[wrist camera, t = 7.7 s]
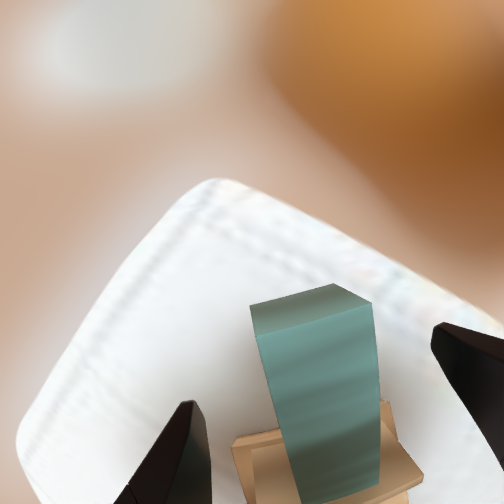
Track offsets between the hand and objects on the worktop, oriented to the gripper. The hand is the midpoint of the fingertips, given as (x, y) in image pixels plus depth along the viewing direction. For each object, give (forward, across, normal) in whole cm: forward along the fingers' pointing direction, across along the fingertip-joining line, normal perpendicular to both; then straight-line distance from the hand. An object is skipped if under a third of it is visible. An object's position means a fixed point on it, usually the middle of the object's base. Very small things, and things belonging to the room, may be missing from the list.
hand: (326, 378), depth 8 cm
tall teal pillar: (0, 0, +8) cm, 8 cm away
